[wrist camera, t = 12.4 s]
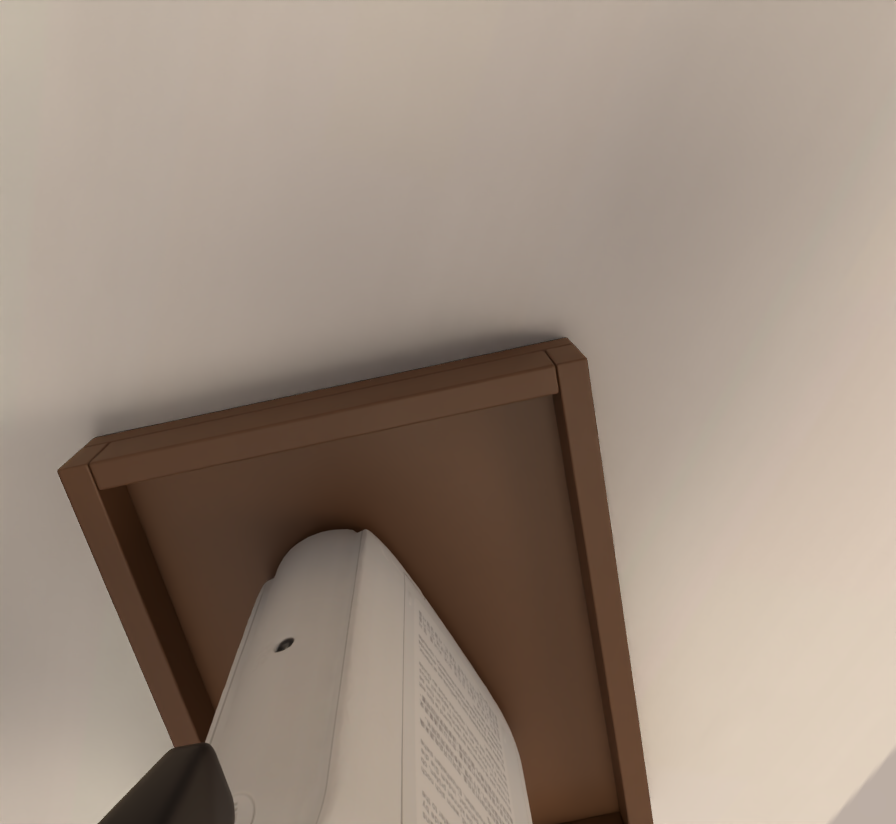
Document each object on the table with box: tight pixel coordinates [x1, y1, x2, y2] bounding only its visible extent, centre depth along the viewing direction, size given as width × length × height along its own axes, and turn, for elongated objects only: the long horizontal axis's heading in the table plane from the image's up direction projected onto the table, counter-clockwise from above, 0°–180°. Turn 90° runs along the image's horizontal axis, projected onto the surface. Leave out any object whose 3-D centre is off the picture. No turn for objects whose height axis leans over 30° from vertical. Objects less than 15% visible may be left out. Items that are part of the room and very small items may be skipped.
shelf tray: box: [57, 338, 653, 824], centre depth 22 cm, size 14×18×2 cm
